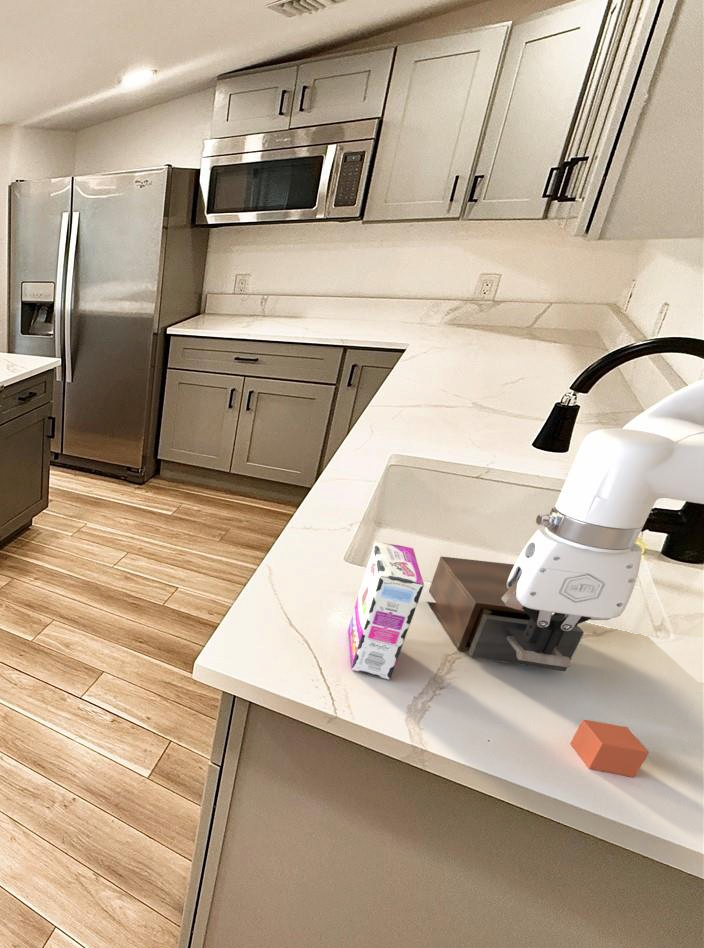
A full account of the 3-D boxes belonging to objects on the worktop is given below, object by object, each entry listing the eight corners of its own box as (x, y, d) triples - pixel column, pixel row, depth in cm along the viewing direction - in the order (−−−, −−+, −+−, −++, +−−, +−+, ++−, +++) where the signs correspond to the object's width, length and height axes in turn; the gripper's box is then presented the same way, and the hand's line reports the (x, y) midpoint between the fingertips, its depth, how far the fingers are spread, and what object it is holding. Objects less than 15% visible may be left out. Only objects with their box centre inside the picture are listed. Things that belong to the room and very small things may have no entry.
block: (613, 751, 74) (627, 726, 72) (634, 777, 71) (649, 752, 69) (570, 743, 75) (582, 719, 74) (588, 768, 72) (602, 743, 70)
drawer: (584, 694, 81) (605, 653, 78) (485, 678, 85) (502, 639, 82) (521, 619, 96) (537, 582, 93) (439, 608, 99) (452, 573, 97)
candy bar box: (393, 682, 86) (426, 584, 80) (350, 671, 89) (378, 576, 82) (385, 637, 95) (415, 546, 88) (347, 629, 98) (372, 539, 91)
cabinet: (558, 665, 87) (582, 616, 84) (457, 650, 92) (475, 602, 88) (513, 611, 99) (532, 566, 95) (425, 600, 103) (440, 556, 100)
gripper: (528, 534, 75) (479, 653, 83) (697, 551, 70) (628, 677, 77) (500, 508, 81) (457, 621, 89) (653, 522, 76) (593, 641, 84)
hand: (536, 646), depth 83 cm, fingers closed
